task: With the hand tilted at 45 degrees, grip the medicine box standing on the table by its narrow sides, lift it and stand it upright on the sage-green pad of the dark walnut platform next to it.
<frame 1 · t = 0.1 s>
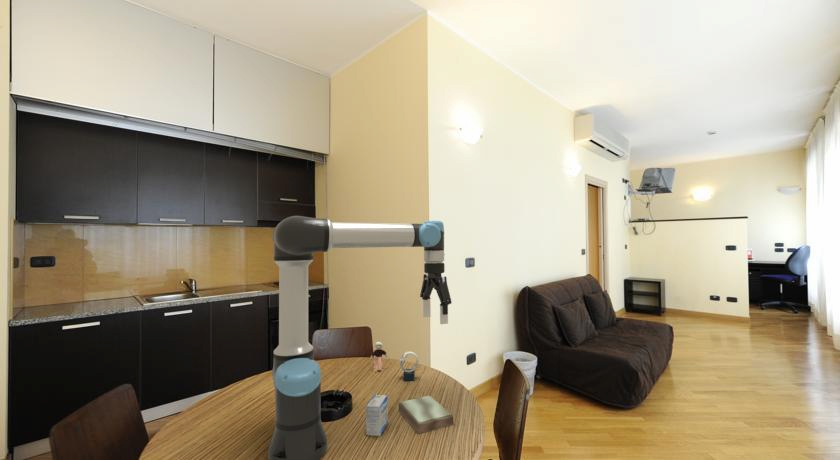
hand: (435, 320, 128), 28 cm above the table, tool pointing down, fingers open, 13 cm apart
platform: (424, 417, 112), on the table
grandmother figurine: (379, 370, 155), on the table
medicine box: (377, 429, 106), on the table
watch: (408, 379, 145), on the table
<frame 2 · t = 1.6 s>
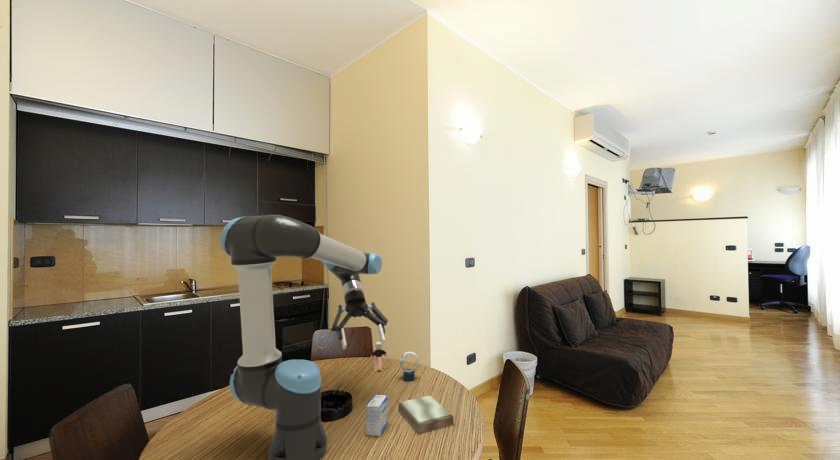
hand: (364, 344, 120), 22 cm above the table, tool tilted 45°, fingers open, 13 cm apart
nothing on the table moved.
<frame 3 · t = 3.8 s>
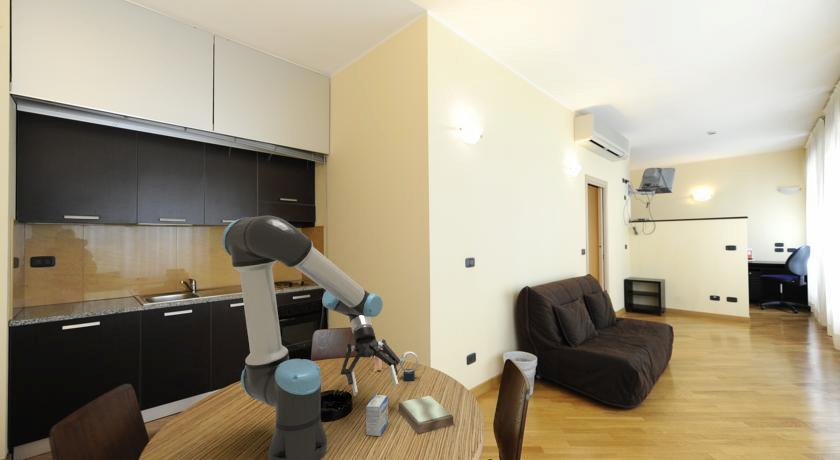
hand: (376, 389, 112), 10 cm above the table, tool tilted 45°, fingers open, 13 cm apart
nothing on the table moved.
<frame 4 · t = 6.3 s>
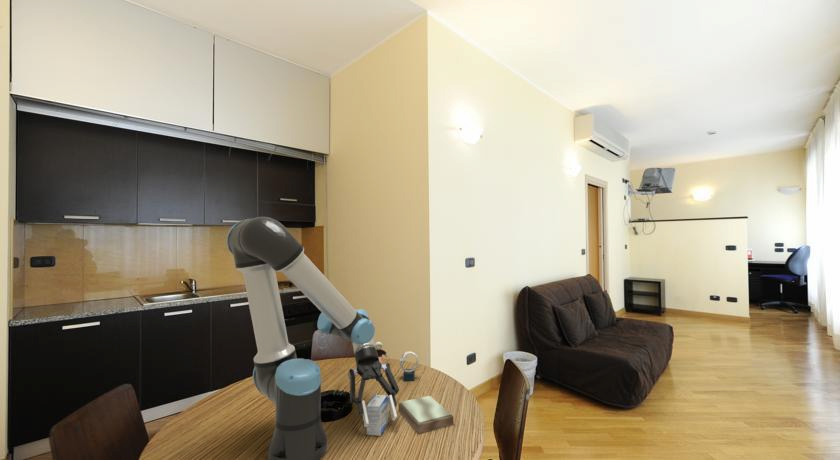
hand: (381, 421, 103), 4 cm above the table, tool tilted 45°, fingers closed on medicine box, 8 cm apart
medicine box: (377, 429, 106), on the table, touching gripper
everything else where it was.
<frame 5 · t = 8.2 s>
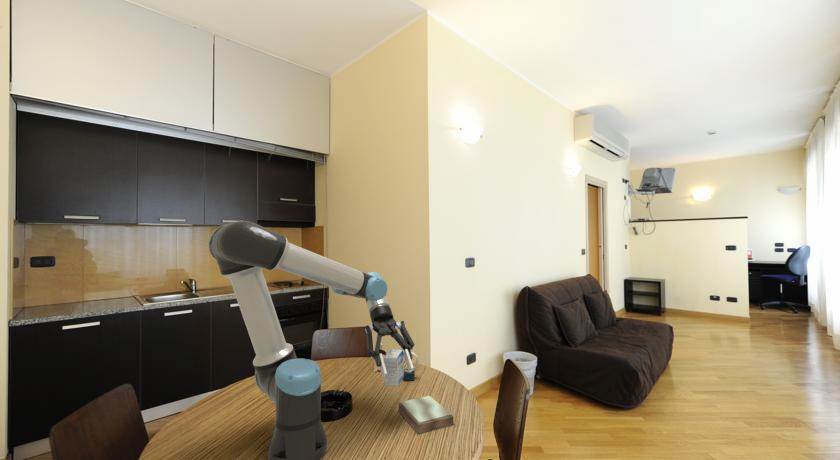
hand: (398, 372, 106), 17 cm above the table, tool tilted 45°, fingers closed on medicine box, 8 cm apart
medicine box: (394, 381, 109), point 13 cm above the table, touching gripper
everything else where it was.
when the fingers open (8 cm above the table, at t = 10.6 s): medicine box drops 1 cm, resting on platform.
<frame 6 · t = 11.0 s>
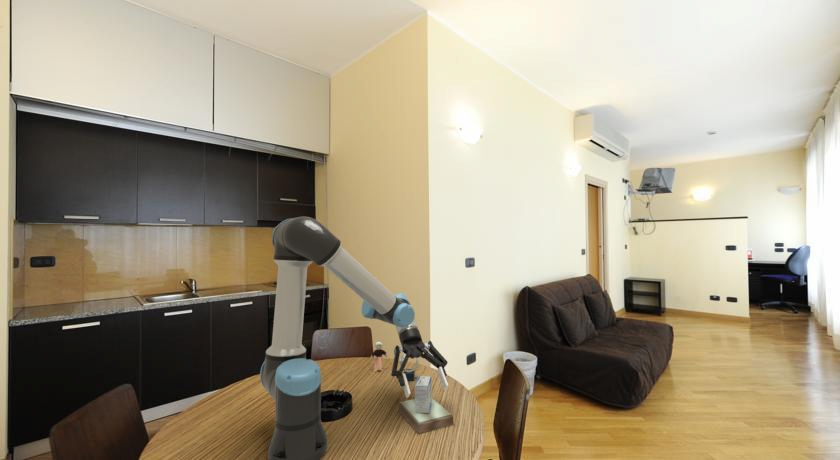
hand: (427, 391, 111), 9 cm above the table, tool tilted 45°, fingers open, 13 cm apart
medicine box: (423, 408, 113), point 3 cm above the table, touching platform
everything else where it was.
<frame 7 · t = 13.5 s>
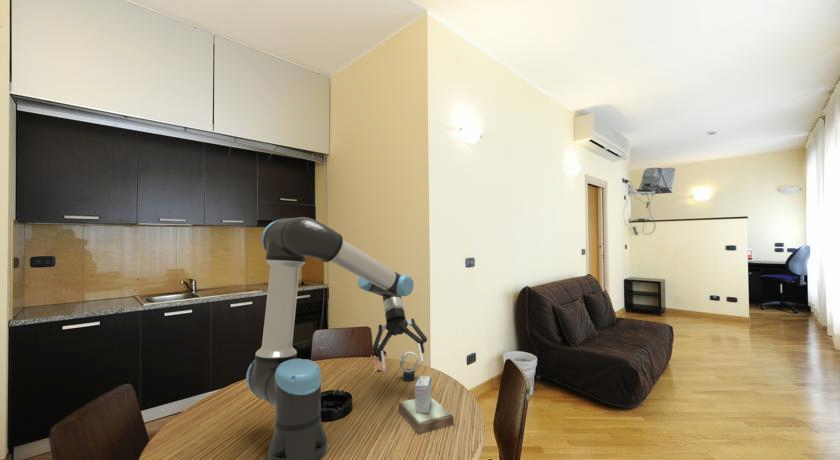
hand: (403, 366, 123), 13 cm above the table, tool tilted 35°, fingers open, 13 cm apart
nothing on the table moved.
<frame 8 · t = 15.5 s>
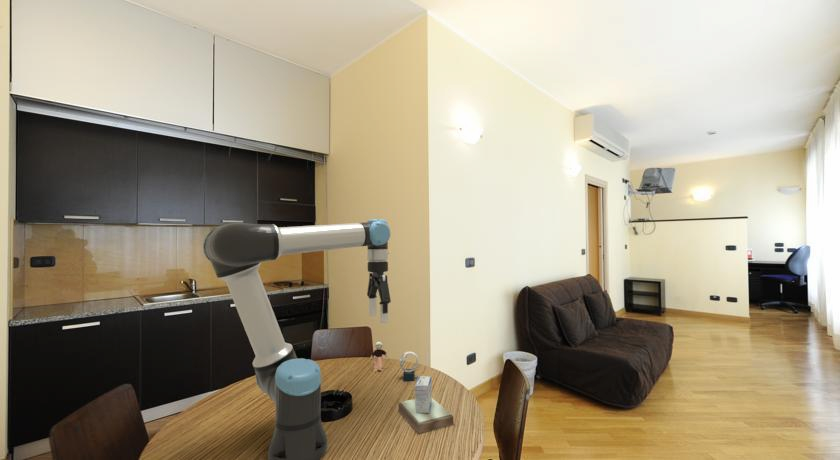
hand: (378, 318, 128), 29 cm above the table, tool pointing down, fingers open, 13 cm apart
nothing on the table moved.
at the end: medicine box inside the target area on the platform (0.4 cm from its centre), point 2.8 cm above the platform's base; medicine box tilted 0°; the gripper is holding nothing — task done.
